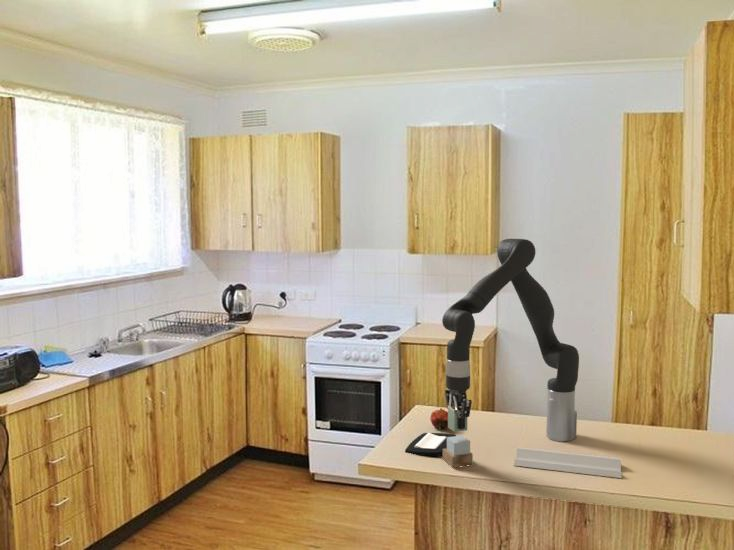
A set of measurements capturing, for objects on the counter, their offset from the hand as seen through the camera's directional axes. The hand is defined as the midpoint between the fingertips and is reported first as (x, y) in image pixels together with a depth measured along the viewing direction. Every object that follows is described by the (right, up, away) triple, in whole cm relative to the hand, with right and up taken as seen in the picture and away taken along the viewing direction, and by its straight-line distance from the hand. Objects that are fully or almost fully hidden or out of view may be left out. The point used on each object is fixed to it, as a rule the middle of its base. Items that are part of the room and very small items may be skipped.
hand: (457, 426), depth 205 cm
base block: (0, -12, +2) cm, 12 cm away
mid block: (0, -8, +1) cm, 8 cm away
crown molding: (+34, -13, -1) cm, 36 cm away
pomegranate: (-2, -9, +33) cm, 35 cm away
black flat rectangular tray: (-7, -11, +17) cm, 21 cm away
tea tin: (0, -1, 0) cm, 1 cm away
